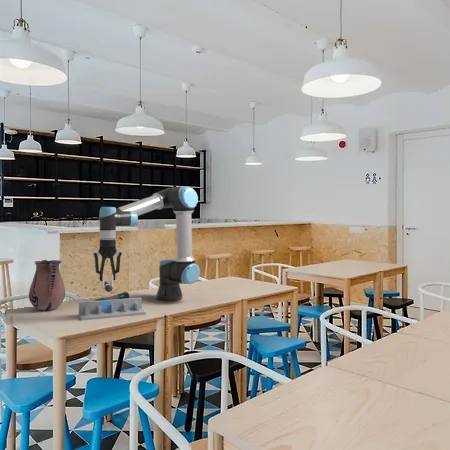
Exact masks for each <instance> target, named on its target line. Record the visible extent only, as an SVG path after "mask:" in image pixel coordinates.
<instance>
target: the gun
mask: <svg viewBox="0 0 450 450" xmlns="http://www.w3.org/2000/svg"><path fill="white" fill-rule="evenodd" d="M128 298H131V297H130V293H129V292H127V291H123V292H120V293H117V294H114V295H110V296H106V297H102V298H101V297H100V298H98V299H95V300H93V301H102V300H115V299H128Z"/></svg>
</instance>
